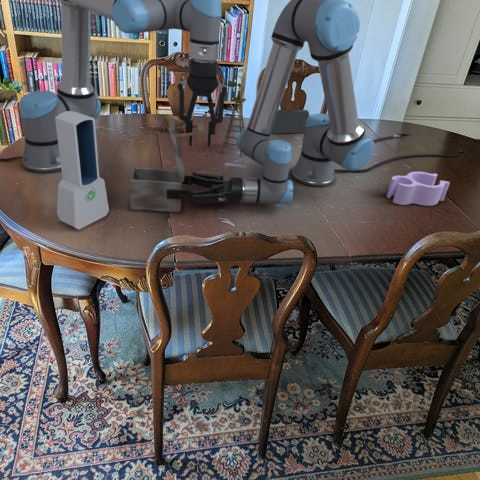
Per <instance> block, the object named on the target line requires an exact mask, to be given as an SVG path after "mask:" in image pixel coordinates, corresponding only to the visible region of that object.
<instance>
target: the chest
mask: <svg viewBox="0 0 480 480" xmlns="http://www.w3.org/2000/svg"><path fill="white" fill-rule="evenodd" d="M167 189H173V190H183V184H182V182H180V179H179V174H178V169H167V168H166V169H165V168H151V167H138V166H133V168H132V172H131V175H130V178H129V209H130V210H134V211H137V210H138V211H151V212H165V213H166V212H167V213H182V200H183V199H167Z"/></svg>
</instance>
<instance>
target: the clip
mask: <svg viewBox="0 0 480 480" xmlns="http://www.w3.org/2000/svg"><path fill="white" fill-rule="evenodd" d="M437 178H438V174H437V173H435V172H434V173H429V172H426V171H410V172H408V173H407V174H406V175H393V176H392V177H391V180H390V183H389V185H388V188H387V189H388V190H387V193H386V198H388V199H391V197H393V199H392V203H393V204H397V205H402V206H407V205H410V204H415V205H420V206H425V207H429V206H430V207H431V206H436V205H437V204H438V203H439V202H444V200H445V197H446V194H447V191H448V189H449V187H450V181H446V180H439V182H438V184H437V185H435V183H436V180H437Z"/></svg>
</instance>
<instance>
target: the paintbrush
mask: <svg viewBox="0 0 480 480" xmlns="http://www.w3.org/2000/svg"><path fill="white" fill-rule="evenodd" d="M401 134H402V133H396V134H392V135H389V136H383V137H379V138H376V139H372V140H373V142H374V143H377V142H381V141H384V140H389V139H393V138H400V137H402V136H406V135H409V134H404V135H401Z"/></svg>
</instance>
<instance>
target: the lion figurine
mask: <svg viewBox="0 0 480 480" xmlns="http://www.w3.org/2000/svg"><path fill="white" fill-rule="evenodd" d="M187 112H188V109H186V110H184V115H186V116H187ZM173 119H175V121H176V126H180V127H181V126H186V122H185V121H183V120H180V119H179V115H177V116H176V115H172V114H168V115H165V116H164V117H163V119H162V121H161V126H160V128H159V129H158V131H162V130H163V131H165V130H166V129H167V131H168V133H170V125H171V120H173ZM193 119H194V112H193V113H192V116H191V120H193ZM193 121H194V120H193ZM165 127H166V128H165ZM185 130H186V129H181V130H180V131H182V132H183V134H184V133H186V132H185Z"/></svg>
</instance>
